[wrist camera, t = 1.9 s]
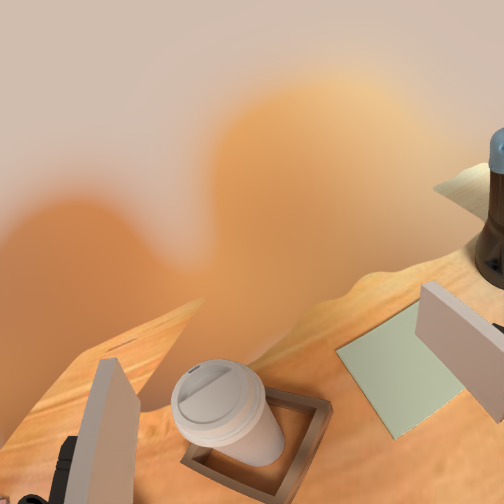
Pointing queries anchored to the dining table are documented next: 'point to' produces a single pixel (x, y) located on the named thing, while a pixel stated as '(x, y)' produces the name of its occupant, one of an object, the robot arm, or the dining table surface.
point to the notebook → (4, 501)
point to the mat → (399, 373)
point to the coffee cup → (227, 412)
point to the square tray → (301, 461)
